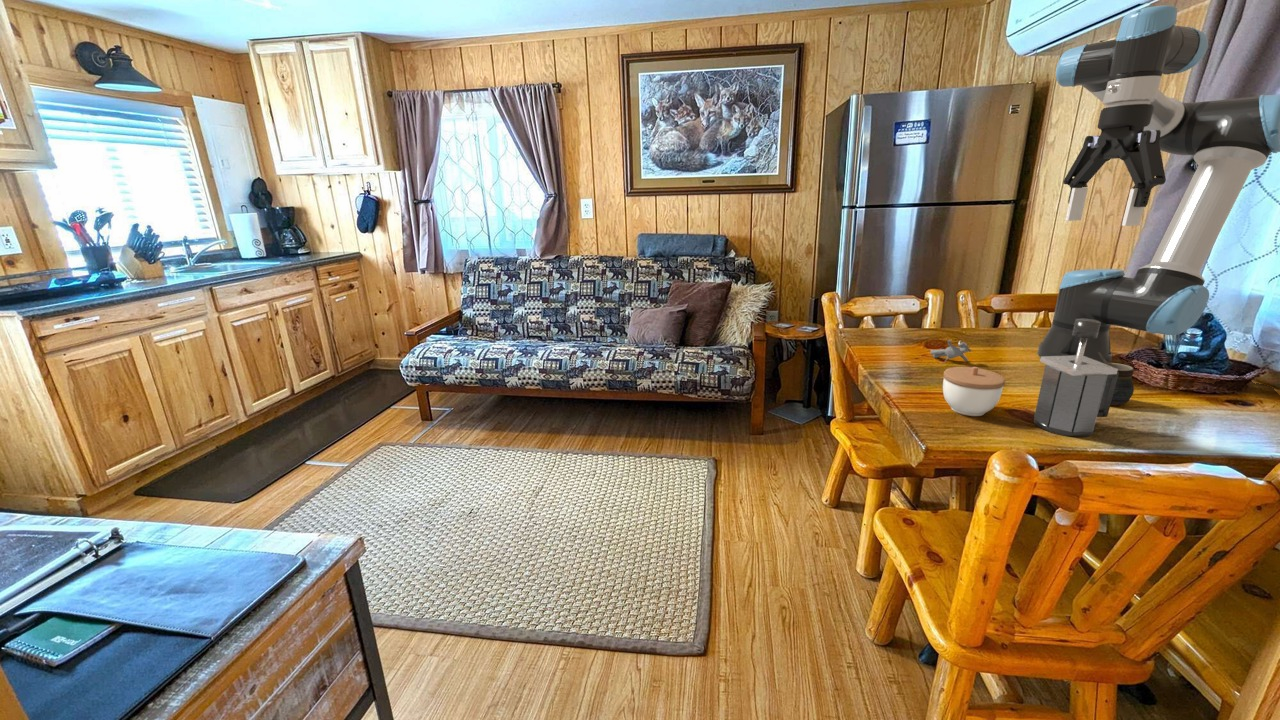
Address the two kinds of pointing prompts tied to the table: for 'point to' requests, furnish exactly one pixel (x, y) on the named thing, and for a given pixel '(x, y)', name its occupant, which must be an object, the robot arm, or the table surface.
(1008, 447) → the table surface
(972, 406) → the lidded jar
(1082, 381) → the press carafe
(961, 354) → the grey animal figurine
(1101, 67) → the robot arm
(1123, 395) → the mate gourd
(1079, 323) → the plunger
